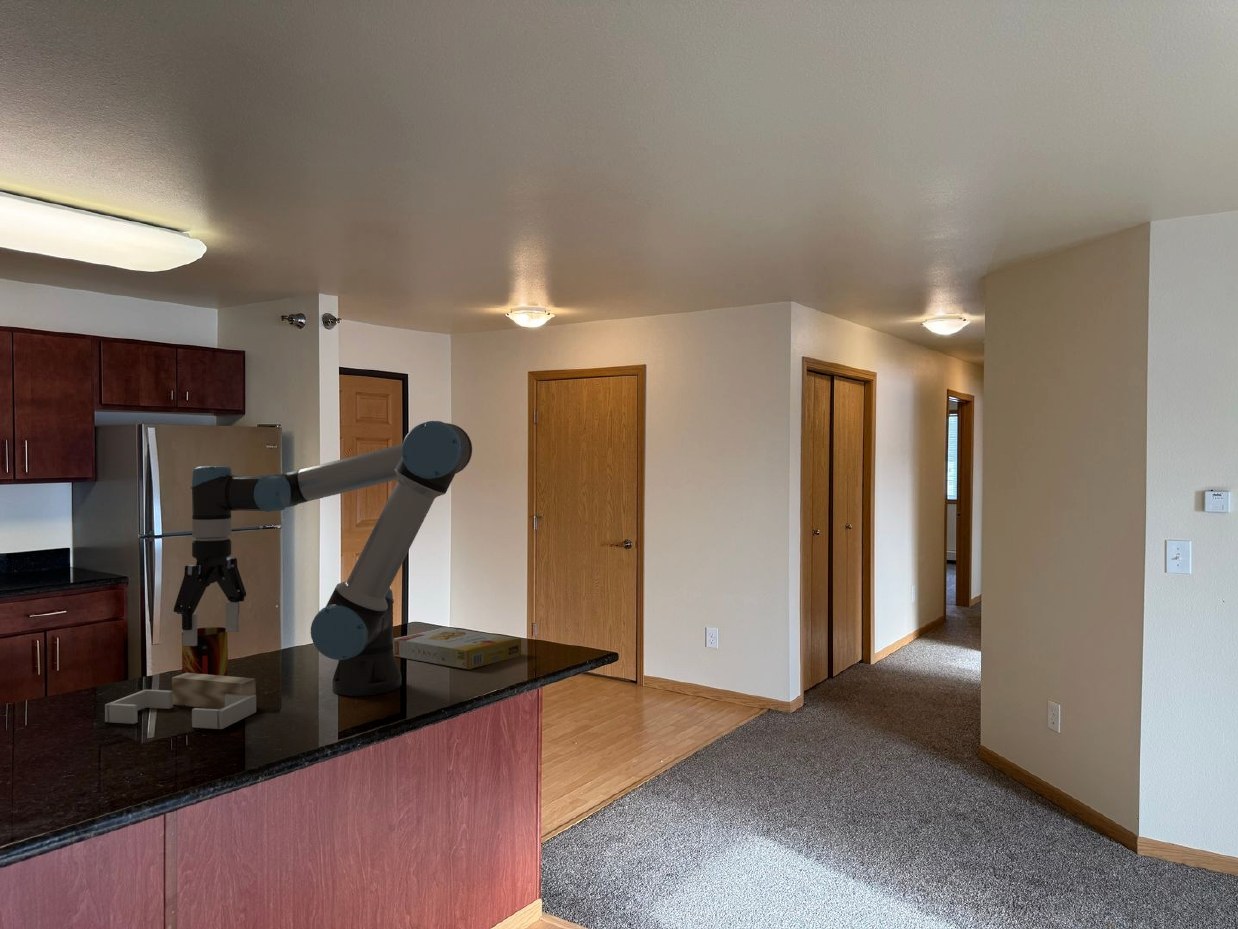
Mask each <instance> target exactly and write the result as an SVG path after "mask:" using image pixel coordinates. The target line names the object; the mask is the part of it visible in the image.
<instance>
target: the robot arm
mask: <svg viewBox="0 0 1238 929" xmlns="http://www.w3.org/2000/svg"><path fill="white" fill-rule="evenodd" d="M472 455H473V443H472V440H471V439H470V436H469V435H468V433H467V432H466V431H465V430H464V429H463V428H462V427H460V426H458V425H456V424H452V423H447V422H444V421H441V420H430V421H426V422H421V423H419V424H417V425H415V426H414V427H413V428H412V429H411V430H410V431H409V432H408V433H407V434H406V435H405V437H404V439H403V442H402V444H398V445H393V446H390V447H386V448H381V449H378V450H373V451H370V452H366V453H362V454H357V455H353V456H349V457H346V458H340V459H337V460H334V461H329V462H324V463H321V464H318V465H314V466H309V467H306V468H302V469H297V470H296V469H295V470H293V471H289V472H283V473H279V474H269V475H268V474H267V475H266V474H265V475H262V474H261V475H235V474H233V473H232V469H231V467H230V466H227V465H226V466H225V465H222V466H220V465H217V466H216V465H207V466H206V465H203V466H196V467H195V468H194V469H193V470H192V477H191V487H190V488H191V495H192V496H191V498H192V499H191V502H192V504H191V505H192V516H191V519H192V527H191V528H192V530H191V531H192V532H191V533H192V534H191V536H192V538H193V539H194V540H193V541H191V556H192V558H193V559H196V563H195V564H186V565H185V566H184V573H183V574H184V575H183V578H182V581H181V585H180V588H179V592H178V595H177V598H176V601H175V604H174V607H173V612H174V613H176V614H178V615H181V629H182V633H183V645H185V646H196V645H197V628H198V613H195V611H196V609H197V608H198V605H199V603H200V601H201V599H202V597H203V595H204V593H205V591H206V589H207V588H208V587H209V586H210V585H212V584H214V583H216V584H218V587H220V589H221V591H222V593H224V595H225V597H226V598H227V600H228V601H225V628H226V632H227V633H228V632H229V633H239V632H240V631H239V630H240V627H239V624H240V622H239V621H240V602H244V601H245V598H246V596H247V590H246V588H245V586H244V583H243V580H242V577H241V574H240V571H239V568H238V559H237V557H230V556H231V555H232V540H231V539H230V537H231V536H232V511H233V512H236V511H242V512H245V511H247V512H266V513H270V512H278V511H279V512H281V511H284V510H285V509H286V508H291V507H295V506H297V505H301V504H304V503H307V502H311V501H314V500H319V499H324V498H326V497H327V498H328V497H332V496H336V495H340V494H344V493H348V492H352V491H356V490H361V489H364V488H365V489H366V488H369V487H373V486H376V485H380V484H384V483H389V482H394V481H396V483H395V485H394V488H393V490H392V491H391V493H390V495H389V497H388V499H387V501H386V503H385V505H384V507H383V509H382V511H381V512H380V514H379V517H378V519H377V520H376V522H375V525H374V527H373V529H372V530H371V533H370V534H369V537H368V538H367V541H366V542H365V545H364V546H363V549H362V551H361V552H360V554H359V556H358V558H357V561H356V563H355V565H354V567H353V568H352V570H351V572H350V574H349V576H348V578H347V579H346V580H344V581H342V582H340V583H337V584H336V586H335V588H334V590H333V592H332V594H331V595H330V597H329V599H328V601H327V603H326V605H325V607H322V608H321V609H320V610H319V611H318V612H317V613H316V614H315V615H314V618H313V619H312V622H311V624H310V625H311V626H310V637H311V640H312V642H313V643H312V644H313V645H314V648H316V649H317V651H318V652H319V653H321V654H322V655H323V656H324V657H326V658H329V659H332V660H334V661H335V660H337V661H338V662H337V664H336V668H335V671H334V673H333V674H334V675H333V678H332V681H331V682H332V683H331V684H332V685H331V686H332V688H331V689H332V690H331V691H332V692H334V693H335V694H338V695H340V696H342V695H343V696H347V697H349V696H350V697H365V696H366V697H367V696H376V695H381V694H386V693H389V692H392V691H395V690H397V689H399V688H400V687H401V686H402V672H401V671H400V666H399V664H398V661H397V658H396V656H395V655H394V652H393V639H394V602H395V599H394V594H393V590H392V588H391V586H392V584H393V582H394V581H395V578H396V576H397V574H398V572H399V570H400V568H401V566H402V564H403V562H404V560H405V558H406V557H407V554H408V553H409V551H410V549H411V546H412V545H413V542H414V541H415V539H416V537H417V535H418V533H419V530H420V529H421V527H422V525H423V523H424V522H425V519H426V517H427V515H428V513H429V511H430V509H431V507H432V505H433V504H434V502H435V499H436V498H438V497H441V496H444V495H446V494H447V491H448V489H449V488H450V485H451V483H452V481H453V479H454V478H455V476H456V474H458V473H460V472H462V471H464V469H465V468H466V467H468V464H469V463H470V461H471V458H472Z"/></svg>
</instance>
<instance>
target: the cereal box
mask: <svg viewBox="0 0 1238 929" xmlns="http://www.w3.org/2000/svg"><path fill="white" fill-rule="evenodd" d="M393 652H394V655H395V658H396V657H397V658H403V659H409V660H413V661H418V662H419V661H421V662H426V663H431V664H436V665H441V666H449V667H453V668H459V669H463V670H472V669H475V668H480V667H483V666H488V665H491V664H495V663H500V662H503V661H507V660H511V659H513V658H514V659H515V658H517V657H520V656H521V655H522V638H518V637H512V636H505V635H499V634H493V633H492V634H491V633H485V632H478V631H472V630H466V629H458V628H452V627H448V626H445V627H440V628H436V629H431V630H426V631H423V632H418V633H414V634H408V635H403V636H399V637H393Z"/></svg>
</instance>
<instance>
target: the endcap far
mask: <svg viewBox="0 0 1238 929" xmlns="http://www.w3.org/2000/svg"><path fill="white" fill-rule="evenodd" d="M173 707H174V705H173V691H172V690H166V689H165V690H164V689H163V690H162V689H148V688H147V689H142V690H140V691H138V692H135V693H132V694H129V695H127V696H125V697H122V698H119V699H117V700H114V701H111V702H108V703H105V704H104V722H105V723H115V724H117V723H118V724H130V725H135V724H136V723H138V711H141V710H144V709H147V708H151V709H153V708H154V709H167V710H168V709H172V708H173Z"/></svg>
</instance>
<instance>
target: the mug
mask: <svg viewBox="0 0 1238 929" xmlns="http://www.w3.org/2000/svg"><path fill="white" fill-rule="evenodd" d="M228 641H229V640H228V632H226V627H221V626H219V627H218V626H210V627H208V626H207V627H199V628H198V627H197V645H196V646H185V645H183V632H181V664H182V665H181V669H182V670H181V671H182V672H181V674H184V673H196V674H207V675H219V676H229V664H228V663H229V660H228V659H229V657H228V656H229V654H228V651H229V646H228V645H229V644H228Z"/></svg>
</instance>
